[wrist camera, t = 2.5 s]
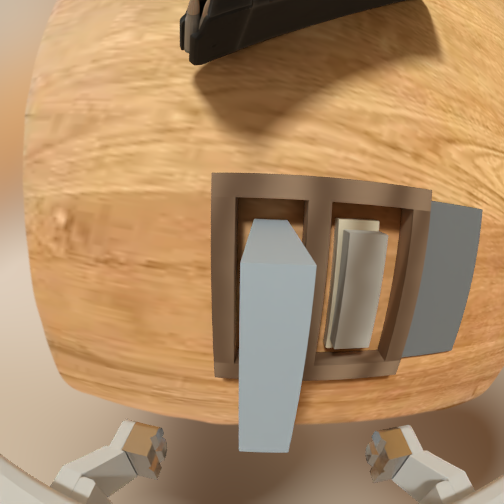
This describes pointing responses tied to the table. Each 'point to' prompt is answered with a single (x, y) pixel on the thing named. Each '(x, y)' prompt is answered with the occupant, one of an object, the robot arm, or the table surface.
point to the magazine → (254, 22)
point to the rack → (318, 264)
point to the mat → (444, 278)
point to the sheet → (272, 333)
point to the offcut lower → (337, 248)
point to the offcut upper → (358, 288)
